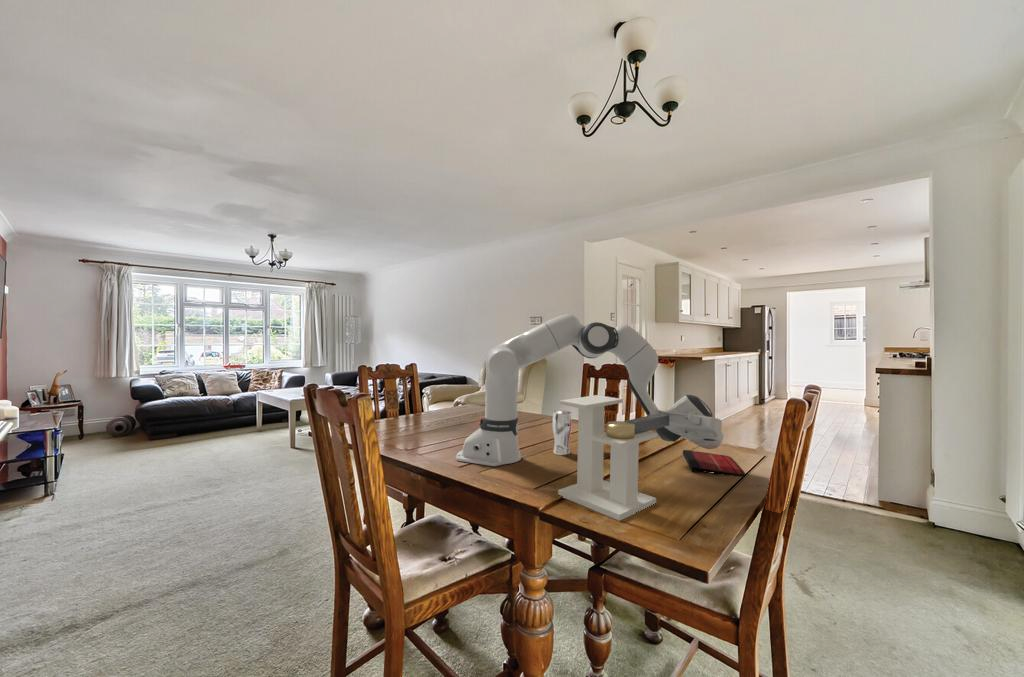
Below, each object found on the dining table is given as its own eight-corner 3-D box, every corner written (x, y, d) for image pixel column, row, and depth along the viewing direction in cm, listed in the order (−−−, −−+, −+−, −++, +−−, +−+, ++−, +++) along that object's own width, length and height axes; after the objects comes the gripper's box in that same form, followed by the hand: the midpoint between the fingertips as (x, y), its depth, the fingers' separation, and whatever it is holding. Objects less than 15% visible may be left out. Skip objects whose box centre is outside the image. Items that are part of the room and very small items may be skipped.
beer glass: (575, 453, 158) (575, 412, 158) (563, 457, 154) (563, 414, 153) (560, 449, 163) (560, 409, 163) (548, 452, 159) (548, 411, 158)
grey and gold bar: (623, 440, 105) (624, 428, 105) (600, 435, 111) (600, 423, 110) (675, 426, 121) (676, 416, 121) (653, 422, 126) (653, 412, 126)
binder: (691, 466, 139) (682, 449, 159) (691, 473, 139) (682, 455, 159) (746, 473, 135) (730, 454, 156) (746, 480, 135) (729, 461, 156)
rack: (619, 520, 103) (621, 412, 103) (558, 495, 118) (559, 400, 118) (656, 503, 114) (658, 404, 113) (595, 482, 129) (596, 395, 128)
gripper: (663, 412, 143) (641, 400, 135) (727, 421, 128) (707, 407, 119) (659, 431, 142) (637, 420, 133) (724, 442, 126) (704, 430, 118)
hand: (671, 414), depth 126 cm, fingers open, 8 cm apart
